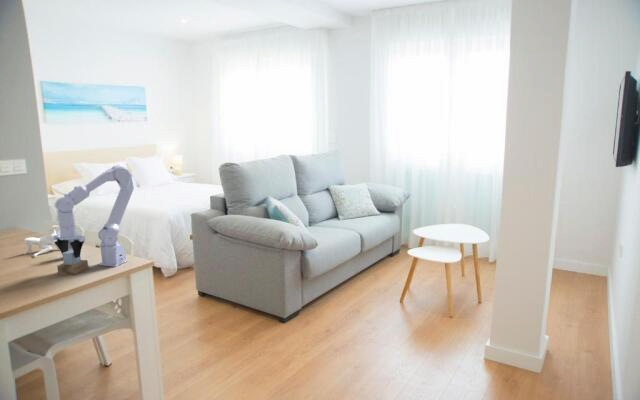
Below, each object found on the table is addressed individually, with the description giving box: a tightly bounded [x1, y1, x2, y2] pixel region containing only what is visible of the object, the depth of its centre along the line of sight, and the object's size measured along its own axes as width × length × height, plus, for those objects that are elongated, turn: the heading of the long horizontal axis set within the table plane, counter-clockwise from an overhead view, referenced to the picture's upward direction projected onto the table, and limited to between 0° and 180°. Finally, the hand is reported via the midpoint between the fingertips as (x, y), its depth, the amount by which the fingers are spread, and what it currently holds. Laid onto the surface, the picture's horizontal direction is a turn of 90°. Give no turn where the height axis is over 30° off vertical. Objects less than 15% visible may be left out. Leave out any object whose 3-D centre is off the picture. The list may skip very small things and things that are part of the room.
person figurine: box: [23, 225, 60, 258], centre depth 212 cm, size 13×13×18 cm
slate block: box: [61, 250, 82, 265], centre depth 182 cm, size 4×4×5 cm
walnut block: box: [56, 259, 89, 276], centre depth 183 cm, size 8×8×4 cm
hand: (71, 256), depth 182 cm, fingers open, 6 cm apart
